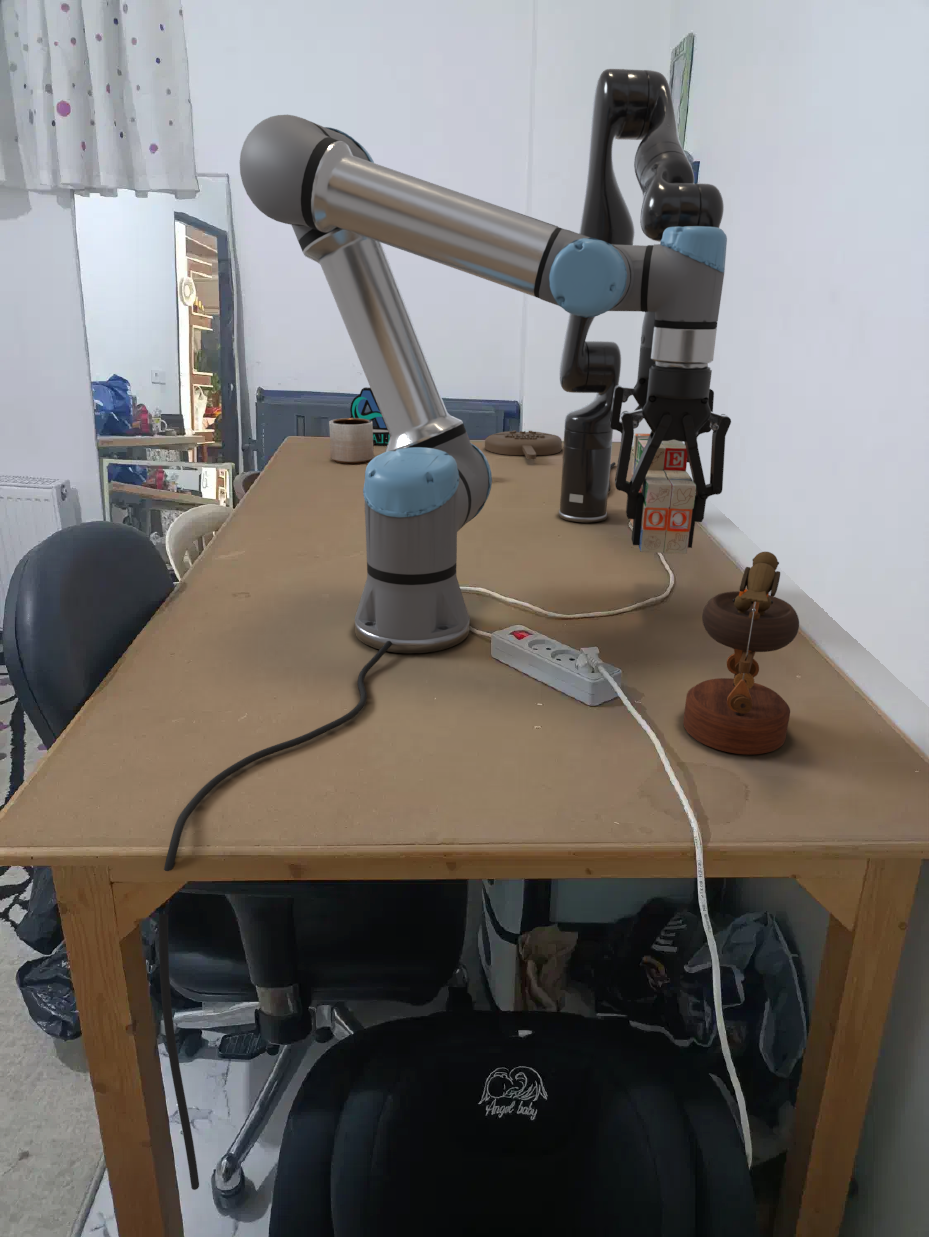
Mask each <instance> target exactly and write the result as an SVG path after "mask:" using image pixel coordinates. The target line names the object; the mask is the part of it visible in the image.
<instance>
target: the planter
mask: <svg viewBox="0 0 929 1237" xmlns="http://www.w3.org/2000/svg"><path fill="white" fill-rule="evenodd" d="M328 424H329V425H328V426H329V453H330V454H329V455H330V456H329V457H330V459H331V460H332V461H333V462H335V463H341V464H363V463H367V462H368V463H369V462H370V461H371V460H372V459H373V458H375V455H374V452H375V451H374V450H375V449H374V444H373V426H374V425H373V421H371V420H368V419H362V418H350V417H342V418H341V417H340V418H335V419H334V418H333V419H331V420H329V421H328Z"/></svg>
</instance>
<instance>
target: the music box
mask: <svg viewBox="0 0 929 1237" xmlns="http://www.w3.org/2000/svg"><path fill="white" fill-rule="evenodd" d="M778 560H779V559H777V556H776V555H775V554H774V553H773V552H770V551H761V552H758V553H757V554H756V555H755V556H754V557H753V558H752V566H751V567H750V566H745V568H744V572H743V574H742V578H741V581H740V585H739V588H738V589H739V590H738V591H737V590H735V591H734V590H733V591H726V592H722V593H718V594H716V595H714V596H712V598H710V599H709V600H708V602H707V603H706V604H705V606H704V608H703V610H702V614H701V615H702V617H701V619H702V620H701V621H702V625H703V628H704V630H705V632H706V633H707V634H708V635H709V637H711V639H712V640H714V641H716V642H717V643H719V644H721V645H722V646H725V647H728V648H731V649H733V652H734V653H732V654H730V655H729V656H728V657H727V659H726V668H727V670H728V671H729V672H730V673H732V674H733V678H729V677H728V678H727V677H724V678H723V677H721V678H719V677H718V678H710V679H706V680H703V681H701V682H699V683H697V684H696V685H694V686H692V687H691V688H690V689H689V690H687V693H686V698H685V705H684V713H683V720H682V722H683V723H682V724H683V727H684V729H685V731H686V732H687V733H688V734H689V735H690V737H692V738H693V739H695V740H696V741H697V742H699V743H701V744H703V745H705V746H707V747H709V748H712V749H715V750H719V751H721V752H725V753H726V752H727V753H730V754H738V755H761V754H762V755H763V754H767V753H771V752H773V751H777V750H778V749H780V748H781V747H782V746H783V745H784V743H785V742H786V738H787V732H788V727H789V722H790V717H791V716H790V715H791V708H790V706H789V704H788V703H787V701H785V699H784V698H783V697H782V696H781V695H780V694H779V693H777V692H776V691H774V690H773V689H771V688H769V687H767V686H765V685H763V684H760V683H758V682H755V679H754V678H756V677H757V675H758V674H759V672H760V666H759V663H758V661H757V660H756V659H755V658H754V657H755V655H756V653H768V652H774V651H778V650H782V649H783V648H785V647H786V646H788V645H790V644H791V642H793V641H794V639H795V638H796V637H797V634H798V633H799V629H800V619H799V616H798V613H797V611H796V610H795V608H794V607H793V606H792V605H791V604H790V603H789V602H787V601H786V600H784V599H781V598H779V597H776V594H777V591H778V588H779V583H780V579H781V571H778V570H777V569H778V566H779V565H780V561H778Z"/></svg>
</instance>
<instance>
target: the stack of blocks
mask: <svg viewBox="0 0 929 1237" xmlns="http://www.w3.org/2000/svg"><path fill="white" fill-rule="evenodd" d="M649 435H650V433H634V437H633V452H632V453H633V454H632V462H631V463H632V464H631V477H632V476H633V474H634V471H635V469H636V467H637V464H638V462H639V460H640V458H641V455H642V453H643V451H644V448H645V446H646V444H647V441H648V438H649ZM684 444H685V443H684V442H682V441H677V440H670V441H662V442H661V445H660V447H659V448H658V450H657V452H656V454H655V456H654V459H653V461H652V463H651V466H650V468H649V470H648V472H647V475H646V477H645V479H644V481H643V484H642V486H641V488H640V490H639V492H642V494H643V497H644V499H643V509H642V519H641V529H640V539H639V545H638V549H639V552H641V553H652V554H653V553H655V554H676V555H677V554H680V555H687V554H688V549H689V548H688V542H689V532H690V527H691V519H692V509H693V508H694V501H695V493H696V485H695V483H694V482H693V478H692V476H690V474H689V472H688V471H687V466H688V464H687V463H688V462H687V456H688V455H687V450H686V446H685V445H684ZM629 520H630V523H631V527H632V528H633V519H629Z"/></svg>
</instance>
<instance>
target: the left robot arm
mask: <svg viewBox="0 0 929 1237" xmlns="http://www.w3.org/2000/svg"><path fill="white" fill-rule="evenodd" d="M239 155H240V156H239V173H240V174H239V175H240V178H241V182H242V186H243V188H244V191H245V193H246V195H247V196H248V198H249V200H250V201H251V202H252V204H253V205H254V206H255V207H256V208H257V209H258V210H259V211H260V212H261V213H262V214H264V215H265V216H266V217H268V218H270V219H271V220H274V221H276V222H278V223H282V224H285V225H290V226H291V227H292V230H293V232H294V234H295V237H296V240H297V242H298V244H299V247H300V249H301V253H302V254H303V256H304V257H305V258H307V259H309V260H312V261H314V262H316V263H317V264H318V265H319V266H320V267H321V270H322V273H323V275H324V277H325V280H326V282H327V285H328V287H329V290H330V293H331V295H332V297H333V300H334V302H335V304H336V307H337V309H338V311H339V314H340V316H341V319H342V321H343V324H344V326H345V329H346V331H347V333H348V336H349V339H350V341H351V344H352V347H353V349H354V351H355V353H356V355H357V359H358V361H359V364H360V365H361V368H362V371H363V372H364V375H365V377H366V378H365V379H366V380H367V382H368V385H369V388H371V390H372V392H373V395H374V397H375V400H376V402H377V405H378V407H379V410H380V412H381V414H382V417H383V419H384V422H385V424H386V427H387V429H388V432H389V434H390V440H389V443H388V445H386V448H385V450H384V452H382V453H380V454H378V455H376V456H374V457H373V459H372V460H370V461H368V463H367V465H366V467H365V471H364V482H363V489H362V493H363V499H364V520H365V524H364V525H365V550H366V579H365V584H364V586H363V589H362V592H361V596H360V600H359V602H358V606H357V609H356V612H355V615H354V633H355V636H356V638H357V639H358V640H359V641H360V642H362V643H363V644H365V645H367V646H368V647H371V648H374V649H377V650H378V651H377V653H375V655H373V657H372V658H370V660H369V661H368V662H367V663H366V664H365V665H364V666H363V667H362V669H361V670H360V672H359V674H358V677H357V687H358V691H359V694H360V699H359V702H358V703H357V704H356V705H355V707H353V709H352V710H350V711H349V712H347V713H346V714H344V715H342V716H341V717H339V718H336V719H335V720H333V721H330V722H329V723H326V724H324V725H322V726H319V727H318V728H316V729H314V730H312V731H310V732H307V733H305V734H302V735H300V736H297V737H295V738H291V739H289V740H287V741H286V740H285V741H282V742H280V743H277V744H275V745H271V746H269V747H265V748H263V749H261V750H259V751H256V752H254V753H252V754H249V755H248V756H246V757H244V758H242V759H240V760H239V761H237V762H235V763H234V764H232V765H231V766H228V767H227V768H225V769H223V771H221V772H220V773H218V774H217V775H215V776H214V777H213V778H212V779H211V780H209V781H208V782H207V783H206V784H205V785H204V786H203V787H202V788H200V790H199V791H198V792H197V793H196V794H195V795H194V796H193V798H191V800H190V801H189V802H188V803H187V805H186V806H185V807H184V809H183V810H182V811H181V812H180V814H179V816H178V818H177V820H176V822H175V825H174V828H173V830H172V833H171V838H170V842H169V846H168V850H167V854H166V859H165V863H164V866H163V867H164V868H163V871H164V872H169V871H171V870H173V869H174V867H175V862H176V859H177V853H178V850H179V845H180V841H181V838H182V833H183V831H184V827H185V824H186V823H187V821H188V818H189V817H190V815H191V814H192V813H193V812H194V810H195V809H196V808H197V807H198V805H199V804H200V803H201V802H202V801H203V799H204V798H206V796H207V795H208V794H209V793H210V792H211V791H212V790H213V789H214V788H215V787H216V786H218V785H220V783H221V782H223V781H224V780H225V779H226V778H227V779H228V777H230V776H231V775H232V774H234V773H236V772H238V771H239V770H241V769H243V768H244V767H246V766H248V765H250V764H252V763H253V762H256V761H257V760H260V759H263V758H265V757H268V756H270V755H273V754H275V753H278V752H281V751H284V750H287V749H290V748H293V747H296V746H299V745H301V744H303V743H306V742H309V741H310V740H312V739H315V738H317V737H319V736H321V735H323V734H325V733H327V732H329V731H331V730H334V729H336V728H337V727H340V726H341V725H343V724H345V723H347V722H349V721H350V720H352V719H353V718H355V717H356V716H357V715H358V714H360V712H361V711H362V710H363V709H364V707H365V706H366V703H367V700H368V693H367V690H366V687H365V677H366V676H367V674H368V672H369V671H370V670H371V669H372V668H373V667H374V666H375V665H376V663H378V662H379V661H380V659H381V658H382V657H383V656H384V654H385V653H387V652H390V653H396V654H397V653H398V654H425V653H433V652H439V651H443V650H446V649H449V648H452V647H455V646H457V645H458V644H460V643H462V642H463V641H464V640H466V639H467V637H468V636H469V634H470V615H469V612H468V608H467V606H466V601H465V599H464V596H463V593H462V589H461V586H460V583H459V581H458V577H457V561H458V560H457V559H458V558H457V557H458V556H457V554H458V532H459V531H460V530H461V529H462V528H463V527H464V526H465V525H466V524H467V523H469V522H471V521H472V520H473V519H474V518H476V517H477V516H478V515H479V514H480V513H481V511H482V510H483V508H484V507H485V504H486V503H487V501H488V498H489V496H490V494H491V490H492V484H493V475H492V470H491V465H490V463H489V460H488V459H487V457H486V455H485V454H484V452H483V451H482V449H480V448H479V447H478V446H477V445H475V444H474V443H472V442H471V440H470V438H469V434H468V432H467V430H466V426H465V424H464V422H463V420H462V419H460V418H458V417H455V416H452V415H451V414H450V413H449V412H448V410H447V408H446V406H445V402H444V400H443V398H442V395H441V393H440V392H441V391H440V390H439V387H438V385H437V382H436V380H435V377H434V375H433V372H432V369H431V367H430V364H429V361H428V359H427V356H426V353H425V351H424V348H423V345H422V343H421V341H420V339H419V336H418V333H417V330H416V328H415V326H414V323H413V320H412V318H411V316H410V312H409V310H408V307H407V304H406V302H405V299H404V297H403V294H402V292H401V289H400V286H399V284H398V282H397V279H396V276H395V274H394V271H393V269H392V266H391V263H390V261H389V259H388V255H387V253H386V251H385V248H384V245H383V244H385V245H387V246H390V247H393V248H395V249H399V250H401V251H404V252H407V253H409V254H413V255H415V256H418V257H421V258H424V259H427V260H429V261H432V262H434V263H435V262H436V263H438V264H441V265H443V266H446V267H450V268H452V269H455V270H458V271H461V272H463V273H466V274H469V275H472V276H475V277H478V278H480V279H483V280H486V281H489V282H492V283H494V284H497V285H501V286H504V287H506V288H509V289H512V290H515V291H517V292H520V293H523V294H526V295H529V296H531V297H534V298H537V299H540V300H542V301H544V302H546V303H549V304H552V305H556V306H558V307H560V308H561V309H563V310H564V311H565V312H567V313H568V314H569V313H571V314H573V315H577V316H581V317H595V316H596V317H598V316H601V315H603V314H605V313H607V312H642V313H645V312H655V321H654V333H653V342H652V352H651V359H652V360H653V361H655V365H652V367H650V370H649V381H648V391H647V399H646V402H645V403H644V405H643V407H642V409H640V410H636V411H634V410H632V411H628V410H624V411H621V414H620V421H621V422H622V425H623V434H621V435H622V440H621V439H620V446H619V452H618V458H617V464H616V471H615V478H614V485H615V489H616V490H617V491H621V492H623V493H626V495H627V497H626V507H625V514H626V518H627V520H630V519H633V527H632V528H631V529H632V530H631V543H632V545H633V546H639V539H640V529H641V519H642V509H643V499H644V497H643V494H642V492H639V490H640V488H641V486H642V484H643V481H644V479H645V477H646V475H647V472H648V470H649V468H650V466H651V463H652V461H653V459H654V456H655V454H656V452H657V450H658V448H659V447H660V445H661V442H662V441H670V440H677V441H682V442H683V443H684V444H685V446H686V450H687V455H688V460H689V462H688V463H689V464H688V465H689V468H690V474H691V478H692V480H693V482H694V483H695V485H696V492H695V501H694V508H693V509H692V519H691V527H690V532H689V542H688V549H693V543H694V536H695V535H694V533H695V526H696V523H703V520H704V518H705V510H706V503H707V500H708V498H710V497H711V496H715V495H717V496H718V495H720V494H722V492H723V484H724V471H725V470H724V467H725V451H726V450H725V449H726V436H727V433H728V431H729V429H730V426H731V424H732V419H731V418H730V417H729V416H728V415H727V414H726V413H721V414H720V413H717V412H714V411H713V412H711V410H710V407H709V404H708V398H709V390H710V389H711V381H712V380H711V379H712V373H713V372H712V371H713V369H711V367H710V366H709V365H708V364H711V363H713V361H714V358H715V348H716V340H717V331H718V322H719V314H720V308H721V300H722V292H723V285H724V280H725V279H724V278H725V272H726V257H727V256H726V255H727V243H728V236H727V233H726V232H725V231H724V230H723V229H721V228H720V227H719V228H717V227H704V226H685V227H669V228H666V229H665V230H664V232H663V237H662V239H661V242H660V244H659V243H658V244H655V243H654V244H647V245H641V244H640V245H637V244H633V245H612V244H609V243H607V242H604V241H602V240H599V239H596V238H590V237H587V236H584V235H582V234H579V233H578V232H576V231H573V230H570V229H567V228H562V227H560V226H558V225H555V224H552V223H549V222H547V221H543V220H541V219H539V218H538V219H537V218H536V217H532V216H529V215H526V214H523V213H520V212H518V211H514V210H511V209H509V208H506V207H503V206H501V205H497V204H494V203H492V202H488V201H485V200H483V199H480V198H476V197H474V196H471V195H468V194H466V193H463V192H459V191H457V190H453V189H450V188H447V187H446V186H445V187H444V186H442V185H439V184H436V183H433V182H431V181H427V180H424V179H422V178H419V177H416V176H413V175H410V174H408V173H404V172H401V171H398V170H396V169H393V168H390V167H387V166H384V165H381V164H378V163H375V162H374V160H373V158H372V156H371V155H370V153H369V152H368V150H366V148H365V147H364V146H363V145H362V144H361V143H359V141H357V140H356V139H355V138H354V137H352V136H351V135H349V134H348V133H346V132H344V131H342V130H340V129H338V128H333V127H330V126H329V127H328V126H322V125H320V124H318V123H315V122H313V121H310V120H308V119H306V118H303V117H300V116H297V115H292V114H277V115H273V116H269V117H267V118H265V119H262V120H261V121H260V122H258V123H257V124H256V125H255V126H254V127H253V128H252V129H251V131H250V132H249V133H248V134H247V136H246V137H245V140H244V141H243V144H242V147H241V149H240V154H239ZM596 317H595V318H596ZM642 418H643V420H644V421H645V423H646V424H647V426H648V428H650V433H649V434H650V435H649V438H648V441H647V444H646V446H645V448H644V451H643V453H642V455H641V458H640V460H639V462H638V464H637V467H636V469H635V471H634V474H633V476H632V475H631V478H630V481H629V480H627V477H628V473H629V466H630V461H631V453H632V448H633V444H634V435H635V429H637V428H638V427H640V426H639V425H640V423H639V421H640V419H642ZM707 420H709V421H710V428H711V431H712V433H711V434H712V435H711V448H710V449H711V451H710V468H709V469H710V472H709V474H710V475H709V483H706V479H705V476H704V470H703V465H702V460H701V456H700V451H699V444H698V438H697V439H696V433H697V432H698V431H699V429H700V428H701V427H702V426H703V425H704V424H705V423H706V421H707ZM158 957H159V960H158V961H159V980H160V982H159V983H160V995H161V996H160V997H161V1008H162V1016H163V1025H164V1032H165V1041H166V1047H167V1053H168V1059H169V1065H170V1072H171V1078H172V1082H173V1088H174V1094H175V1098H176V1104H177V1109H178V1114H179V1118H180V1119H179V1120H180V1124H181V1130H182V1135H183V1141H184V1147H185V1154H186V1160H187V1165H188V1174H189V1180H190V1186H191V1187H190V1188H191V1189H192V1190H193V1191H196V1190H198V1189H199V1187H200V1178H199V1172H198V1164H197V1157H196V1151H195V1146H194V1144H195V1143H194V1138H193V1133H192V1128H191V1121H190V1116H189V1110H188V1105H187V1100H186V1094H185V1090H184V1083H183V1079H182V1072H181V1067H180V1061H179V1055H178V1049H177V1042H176V1034H175V1027H174V1016H173V1008H172V996H171V982H170V981H171V980H170V962H169V961H170V959H169V914H167V913H158Z"/></svg>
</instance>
